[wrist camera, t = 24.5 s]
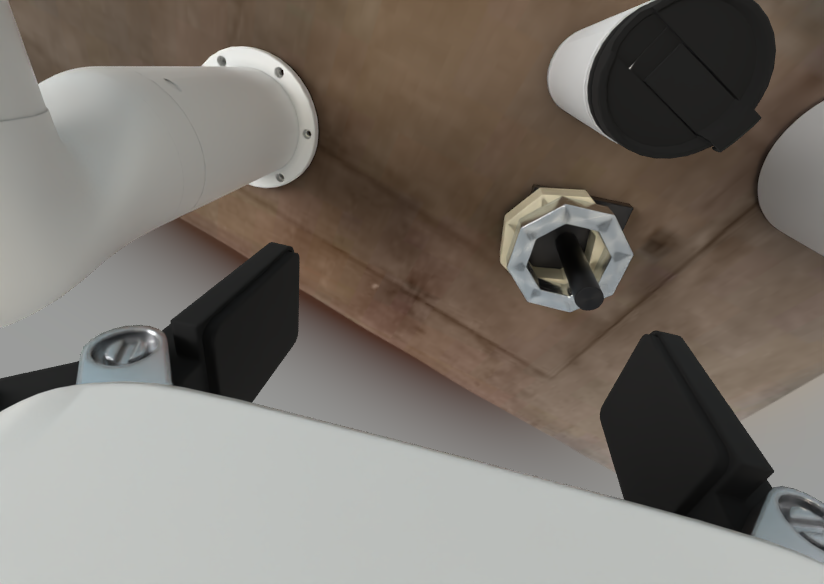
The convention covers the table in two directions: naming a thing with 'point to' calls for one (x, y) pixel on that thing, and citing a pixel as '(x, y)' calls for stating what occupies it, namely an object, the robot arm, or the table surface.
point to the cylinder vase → (797, 181)
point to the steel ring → (552, 218)
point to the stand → (575, 254)
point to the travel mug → (668, 75)
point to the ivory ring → (534, 203)
